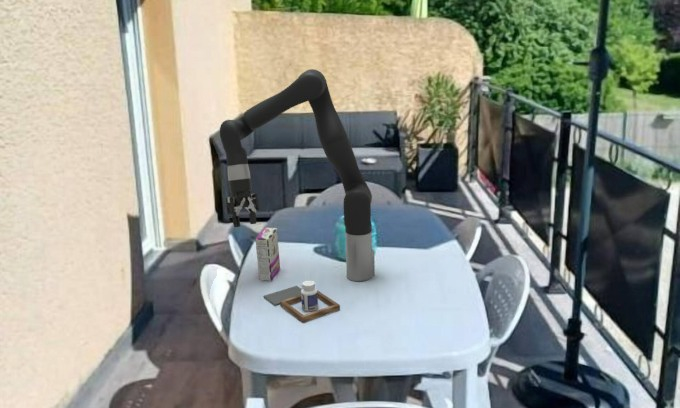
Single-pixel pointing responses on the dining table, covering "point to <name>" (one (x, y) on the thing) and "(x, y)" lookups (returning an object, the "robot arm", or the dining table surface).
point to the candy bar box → (267, 254)
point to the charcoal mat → (283, 295)
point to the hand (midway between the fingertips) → (245, 225)
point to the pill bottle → (309, 296)
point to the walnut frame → (303, 318)
